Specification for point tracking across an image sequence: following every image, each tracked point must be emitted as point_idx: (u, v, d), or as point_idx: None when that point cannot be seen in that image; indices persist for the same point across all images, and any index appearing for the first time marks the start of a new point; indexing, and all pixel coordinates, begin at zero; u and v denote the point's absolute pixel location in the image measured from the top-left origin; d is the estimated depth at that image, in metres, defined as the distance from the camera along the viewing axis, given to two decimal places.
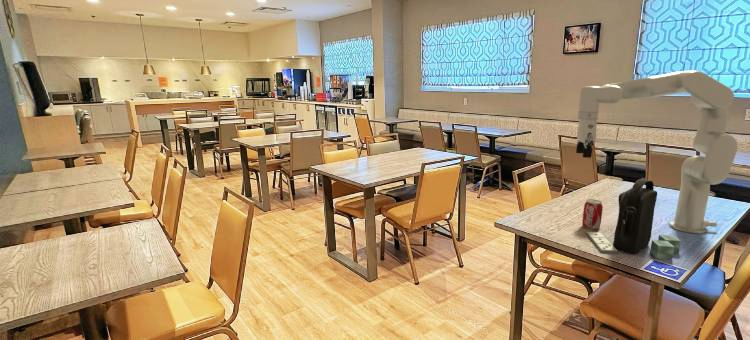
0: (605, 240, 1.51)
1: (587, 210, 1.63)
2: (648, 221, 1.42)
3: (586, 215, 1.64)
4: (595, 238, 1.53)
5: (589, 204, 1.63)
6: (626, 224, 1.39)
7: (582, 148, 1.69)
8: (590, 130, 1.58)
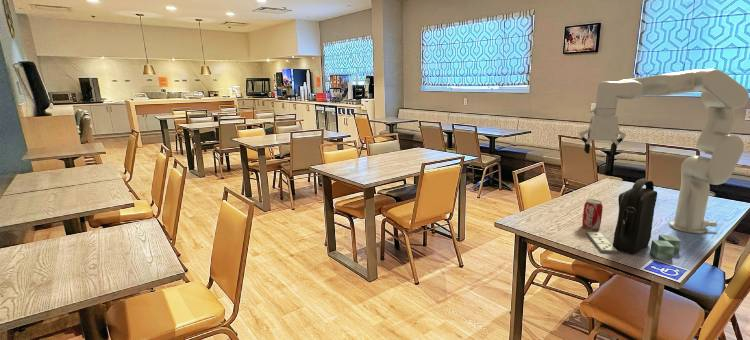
0: (605, 240, 1.51)
1: (587, 210, 1.63)
2: (648, 221, 1.42)
3: (586, 215, 1.64)
4: (595, 238, 1.53)
5: (589, 204, 1.63)
6: (626, 224, 1.39)
7: (612, 148, 1.57)
8: (590, 125, 1.57)
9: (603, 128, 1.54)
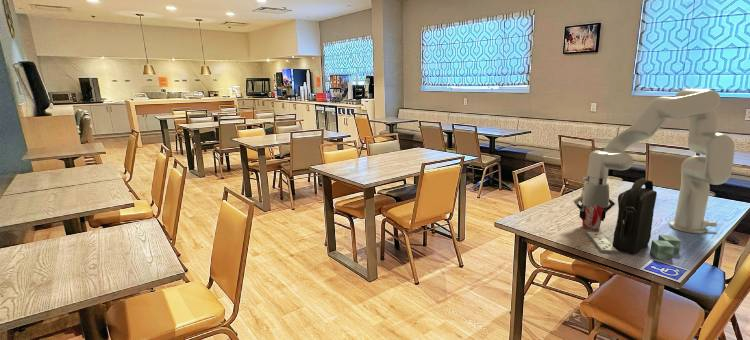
0: (605, 240, 1.51)
1: (587, 210, 1.63)
2: (648, 221, 1.42)
3: (586, 215, 1.64)
4: (595, 238, 1.53)
5: None
6: (625, 224, 1.39)
7: None
8: (582, 192, 1.64)
9: (595, 196, 1.61)
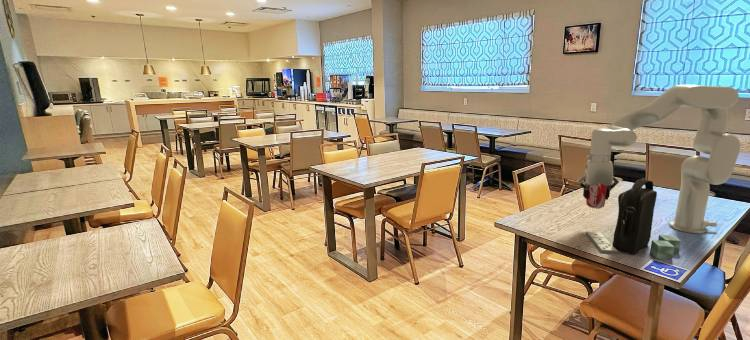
0: (605, 240, 1.51)
1: (591, 189, 1.61)
2: (648, 221, 1.42)
3: (589, 194, 1.62)
4: (595, 238, 1.53)
5: None
6: (626, 224, 1.39)
7: None
8: (585, 171, 1.62)
9: (598, 174, 1.59)
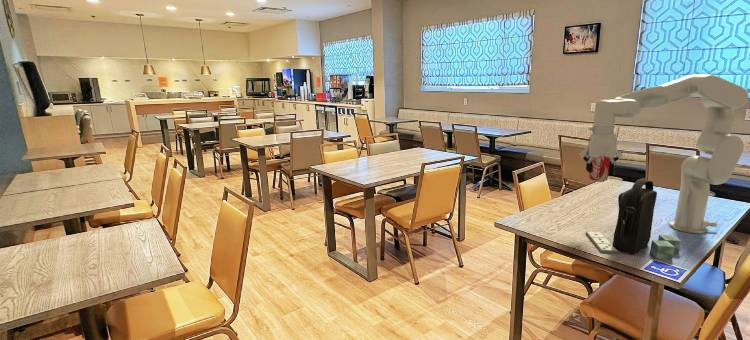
0: (605, 240, 1.51)
1: (594, 162, 1.58)
2: (648, 221, 1.42)
3: (592, 167, 1.59)
4: (595, 238, 1.53)
5: None
6: (626, 224, 1.39)
7: (609, 167, 1.59)
8: (588, 143, 1.59)
9: (602, 146, 1.56)
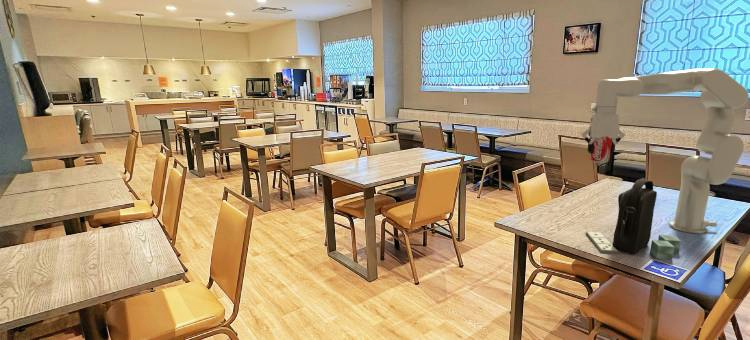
0: (605, 240, 1.51)
1: (596, 142, 1.56)
2: (648, 221, 1.42)
3: (594, 148, 1.58)
4: (595, 238, 1.53)
5: None
6: (626, 224, 1.39)
7: None
8: (590, 124, 1.57)
9: (604, 126, 1.54)
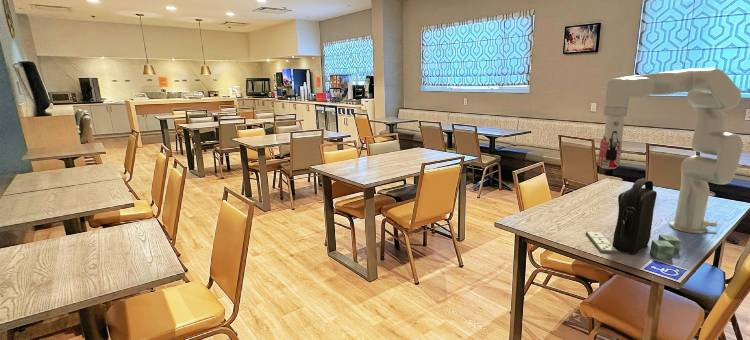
0: (605, 240, 1.51)
1: (618, 147, 1.42)
2: (648, 221, 1.42)
3: (616, 154, 1.43)
4: (595, 238, 1.53)
5: None
6: (626, 224, 1.39)
7: None
8: (615, 128, 1.39)
9: None
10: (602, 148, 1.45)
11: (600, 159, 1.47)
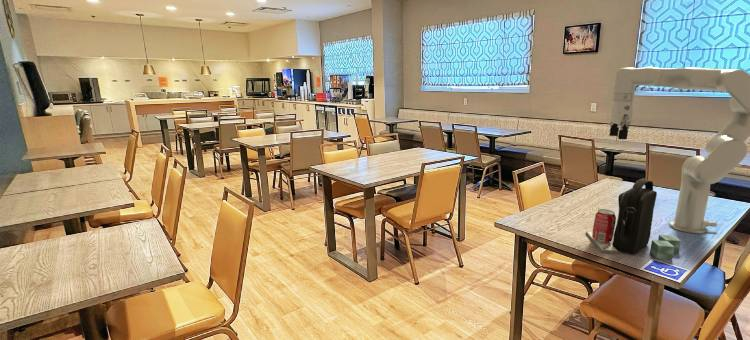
0: None
1: (613, 223, 1.46)
2: (647, 221, 1.42)
3: (611, 229, 1.46)
4: None
5: (613, 216, 1.46)
6: (626, 224, 1.39)
7: (616, 131, 1.70)
8: (626, 112, 1.59)
9: None
10: (598, 223, 1.48)
11: (596, 233, 1.49)
